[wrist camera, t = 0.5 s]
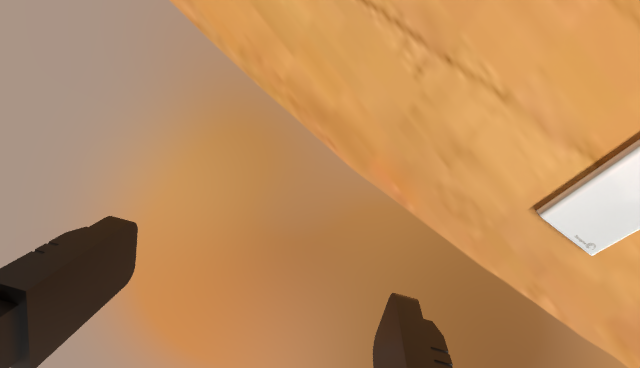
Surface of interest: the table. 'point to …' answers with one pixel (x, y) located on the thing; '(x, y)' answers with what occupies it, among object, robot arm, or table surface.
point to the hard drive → (600, 204)
